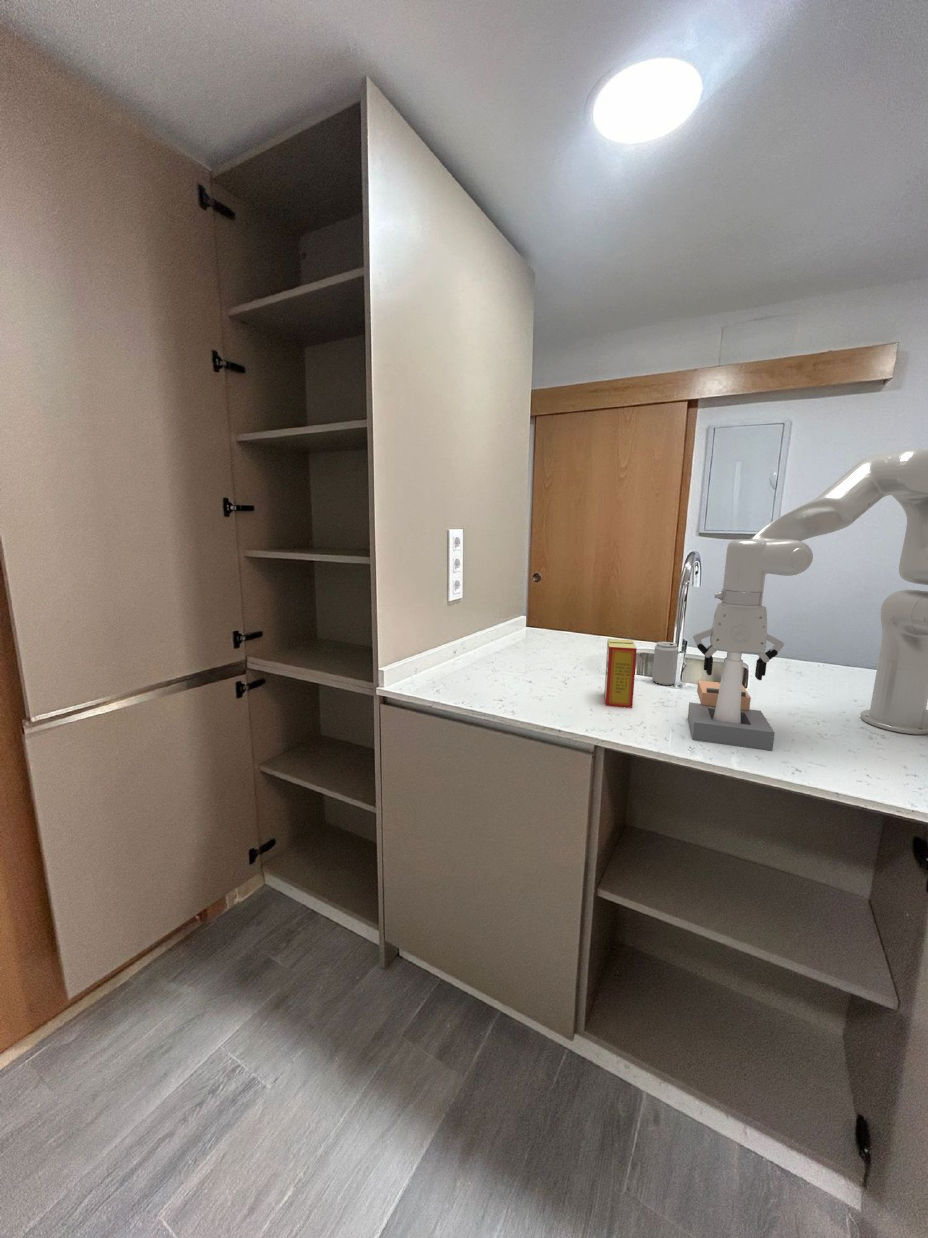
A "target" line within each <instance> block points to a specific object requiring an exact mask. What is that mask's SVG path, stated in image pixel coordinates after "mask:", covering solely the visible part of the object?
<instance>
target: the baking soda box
mask: <svg viewBox="0 0 928 1238" xmlns="http://www.w3.org/2000/svg"><path fill="white" fill-rule="evenodd" d="M605 660H606V662H605V674H604V675H605V678H604V693H603V694H604V695H603V696H604V703H605V706H606V707H616V708H624V707H625V708H626V709H633V705H634V704H633V703H634V691H635V690H634V689H635V688H634V687H635V676H636V663H637V662H636V661H637V647H636V644H635V642H634V640H632V639H631V640H630V639H617V638H615V639H613V638H607V645H606V659H605ZM625 708H624V709H625Z"/></svg>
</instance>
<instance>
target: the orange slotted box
mask: <svg viewBox="0 0 928 1238" xmlns="http://www.w3.org/2000/svg"><path fill="white" fill-rule="evenodd" d="M719 687H720V682H718V681H717V682H716V681H707V680H697V688H696V693H697V695H698V699H699V702H700V703H699V704H701V705H707V706H716V704H717V699H718V693H719ZM751 700H752V698H751V695H750V694H749V693H748V691H747V690H746V688H745V687H744V685H743V684H742V689H741V709H742V710H749V709H750V708H751Z"/></svg>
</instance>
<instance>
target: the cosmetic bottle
mask: <svg viewBox="0 0 928 1238" xmlns="http://www.w3.org/2000/svg"><path fill="white" fill-rule="evenodd" d="M742 655H743V653H737V652H726V657H724V659H723V664H722V671H721V676H720V682H719V683H720V687H719V693H718V699H717V704H716V709H715V713H714V717H713V720H715V721H723V722H731V723H739V724H741V717H740V710H741V689H742V685H743V673H744V671H743V670H744V660H743V659H742Z"/></svg>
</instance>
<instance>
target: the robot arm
mask: <svg viewBox="0 0 928 1238" xmlns="http://www.w3.org/2000/svg"><path fill="white" fill-rule="evenodd" d="M887 496H888V497H889V496H891V497H892V498H894V499H895V500H896V502H898V504H899V505H900V506H901V507H902V508H903V511H904V513H905V517H906V526H905V527H906V528H905V534H904V539H903V543H902V550H901V554H900V559H899V565H898V573H899V577H900V578H901V579H903V580H904V581H906V582H908V583H911V584H916V585H924V586H928V449H924V448H923V449H922V448H921V449H920V448H919V449H907V450H900V451H894V452H886V453H880V454H879V453H878V454H875V455H871V456H868V457H866V458H863V459H862V460H860V461H859V462H857V463H856V464H855V465H854V466H853V467H852V468H850V469H849V470H847V472H845V473H844V474H843V475H842V476H841V477H840V478H838V479H837V480H836V481H835V482H834V483H833V484H831V485H830V486H829V487H828V488H827V489H826V490H824V491H823V492H822V493H821V494H819V495H818V496H817V497H816V498H814V499H813V500H811V501H809V502H807V503H804V504H802V505H800V506H798V507H796V508H795V509H793V510H791V511H788V512H787V513H785V514H783V515H781V516H779V517H777V518H775V519H773V521H771V522H769V523H768V524H767V525H766V526H764V527H762V528H761V529H760V530H759V531H758V532H757V533H755V534H754V535H753V536H752V537H751V538H750V539H735V540H731V541H730V542H729V543H728V544H727V548H726V553H725V554H726V555H725V556H726V557H725V563H724V564H725V565H724V573H723V584H722V589H721V590H720V591H718V592H717V591H715V592H714V599H719V600H720V601H721V602H718V603H717V606H716V608H715V611H714V615H713V620H712V626H711V628H708V629H707V630H704V631H701V632H697V633H696V634H694V635H692V638H693V641H694V643H695V645H696V647H697V649H698V650H699V651H700V652H701V653H702V655H703V656H704V661H703V671H706V674H707V676H712V672H713V665H714V664H713V663H714V657H713V655H714V654H715V653H716V652H717V651H719V652H726V653H727V652H737V653H742V654H750V655H752V654H753V655H757V656H758V658H757V659H756V664H755V672H754V676H755V678H756V680H758V681H762V679H763V677H764V676H766V671H767V664H768V663H769V662H770V660H772V659H773V658H775V657H776V656H777V655H778V654H779V652H780V651H781V650H782V649H783V647H784V646H785V642H783V641H782V640H780V639H778V638H777V637H774V636H773V635H771V634H770V633H768V612H767V606H765V605H763V598H764V590H765V583H766V582H765V581H766V575H770V574H771V575H776V576H783V577H784V576H785V577H789V576H790V577H791V576H797V575H800V574H802V573H804V572H805V571H806V570H808V569H809V567H810V566H811V565H812V563H813V560H814V553H813V550H812V549H811V547H810V546H809V545H808V544H807V543H806V542H804V541H805V540H808V539H812V538H815V537H819V536H823V535H827V534H831V533H835V532H837V531H840V530H842V529H845V528H847V527H849V526H850V525H852V524H853V523H855V521H856V520H858V519H860V517H861V516H862V515H864V514H865V513H866V512H867V511H868V510H869V509H871V508H872V507H874V505H875V504H877V503H878V502H879V501H881V499H883V498H885V497H887ZM880 620H881V621H880V622H881V642H880V649H879V654H878V655H879V656H878V659H877V660H878V661H877V666H876V667H877V668H876V672H875V679H874V683H873V691H872V696H871V702H870V708H869V709H865V710H862V711H861V712H860V719H861V720H862V721H864V722H865V723H867V724H869V725H872V726H874V727H877V728H880V729H883V730H887V731H890V732H891V731H892V732H896V733H901V734H909V735H927V734H928V709H927V705H928V591H927V590H919V589H918V590H917V589H902V590H898V591H895V592H893V593H891V594H890V595H888V596H887V597H885V599H884V600H883V602H882V603H881V607H880ZM709 637H710V638H709ZM706 638H709V639H710V641H709V642H710V645H708V646H707V647H706V646H705V645H704V644H703V641H702V640H703V639H706ZM767 642H769V643H770V644H773V646H772V647H771V648H770V649H769V650H767V651H765V650H766V647H767Z"/></svg>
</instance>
